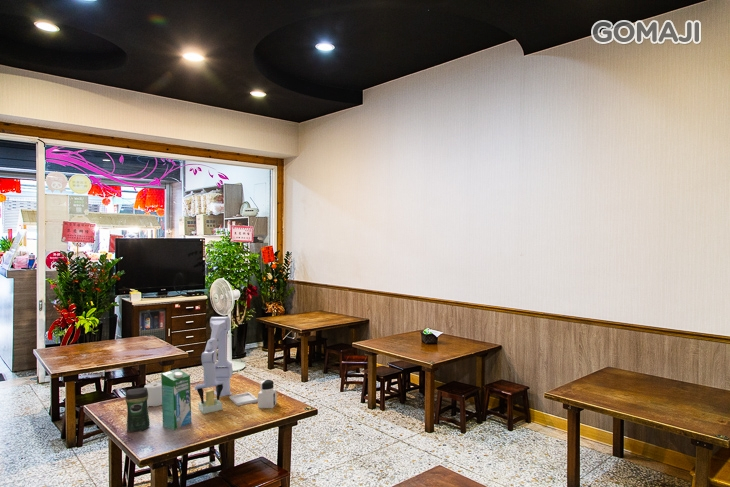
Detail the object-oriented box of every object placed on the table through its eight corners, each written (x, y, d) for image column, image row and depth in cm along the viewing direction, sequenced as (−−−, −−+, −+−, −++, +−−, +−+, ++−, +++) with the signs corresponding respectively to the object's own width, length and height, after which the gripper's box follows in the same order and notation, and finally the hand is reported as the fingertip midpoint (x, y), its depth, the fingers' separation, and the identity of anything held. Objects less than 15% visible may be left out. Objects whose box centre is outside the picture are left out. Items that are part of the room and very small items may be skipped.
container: (277, 403, 247) (276, 378, 247) (272, 408, 240) (272, 383, 240) (262, 403, 248) (262, 378, 248) (257, 408, 240) (257, 383, 240)
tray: (229, 399, 255) (229, 395, 255) (249, 395, 261) (249, 392, 261) (237, 406, 244) (237, 403, 244) (257, 402, 249) (257, 399, 249)
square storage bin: (198, 408, 242) (198, 402, 242) (217, 405, 247) (217, 398, 247) (203, 414, 234) (202, 407, 234) (222, 410, 239) (222, 403, 239)
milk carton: (174, 430, 215) (173, 375, 215) (162, 426, 220) (161, 373, 220) (191, 423, 223) (190, 370, 223) (179, 419, 228) (177, 368, 227)
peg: (205, 408, 241) (205, 390, 241) (213, 406, 243) (212, 389, 243) (207, 410, 238) (206, 392, 237) (215, 409, 240) (214, 391, 240)
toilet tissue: (147, 408, 244) (147, 389, 244) (141, 402, 254) (141, 384, 254) (169, 403, 251) (168, 384, 251) (162, 397, 261) (162, 379, 260)
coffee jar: (150, 424, 223) (149, 385, 223) (148, 430, 216) (147, 390, 216) (127, 427, 220) (126, 387, 220) (125, 433, 213) (123, 392, 213)
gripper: (196, 379, 233) (197, 406, 233) (225, 374, 241) (226, 400, 241) (193, 375, 239) (194, 402, 239) (222, 371, 247) (222, 396, 247)
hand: (210, 401), depth 240 cm, fingers open, 7 cm apart
